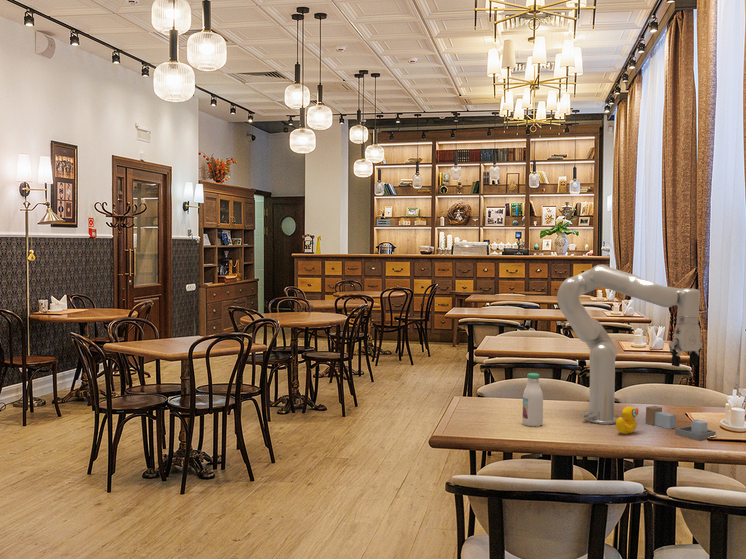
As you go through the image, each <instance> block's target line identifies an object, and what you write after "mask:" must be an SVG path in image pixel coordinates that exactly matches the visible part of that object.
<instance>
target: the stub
mask: <svg viewBox="0 0 746 559" xmlns="http://www.w3.org/2000/svg"><path fill="white" fill-rule="evenodd" d="M690 426H691V432H692V433H695V434H702V433H707V429H708V422H707V421H704V420H699V419H694V420H691V425H690Z"/></svg>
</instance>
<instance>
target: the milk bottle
mask: <svg viewBox="0 0 746 559" xmlns="http://www.w3.org/2000/svg"><path fill="white" fill-rule="evenodd" d="M540 385H541V384H540V374H539V373H537V372H535V373H534V372H530V373H527V384H526V386H525V388H524V390H523V395H522V397H523V398H522V424H523V425H524V426H526V425H527V427H534V426H536V427H541V426H540V425H542V426H543V421H544V420H543V419H544V393H543V390H542V387H541V386H540Z"/></svg>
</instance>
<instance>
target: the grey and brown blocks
mask: <svg viewBox="0 0 746 559" xmlns="http://www.w3.org/2000/svg"><path fill="white" fill-rule="evenodd" d="M646 423H648V424H647V425H650V424H652V425H651V426H656V425H658V426H657V427H659V426H662V427H661V428H663V427H665V428H664V429H667V428H669V429H668V430H672V428H674V429H676V428H677V427H676V426H677V415H676V414H672V413H669V412H664V411H663V407H662V406H658V405H650V406H646V407H645V424H646Z"/></svg>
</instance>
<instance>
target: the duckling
mask: <svg viewBox="0 0 746 559" xmlns="http://www.w3.org/2000/svg"><path fill="white" fill-rule="evenodd" d="M638 414H639V408H638V407H636V408H635V407H633V406H630V405H628V406H624V407H623V409H622V410H621V416H622V417H621V416H619V417H617V418H618V419H617V420H616V423H615V428H616V431H617V432H619V433H620V434H624V435H628V434H629V433H630V434H632V433H634V431H635V430H636V428H637V425H638V424H637V422H636V420H635V419H636V417H637V416H638Z"/></svg>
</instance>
